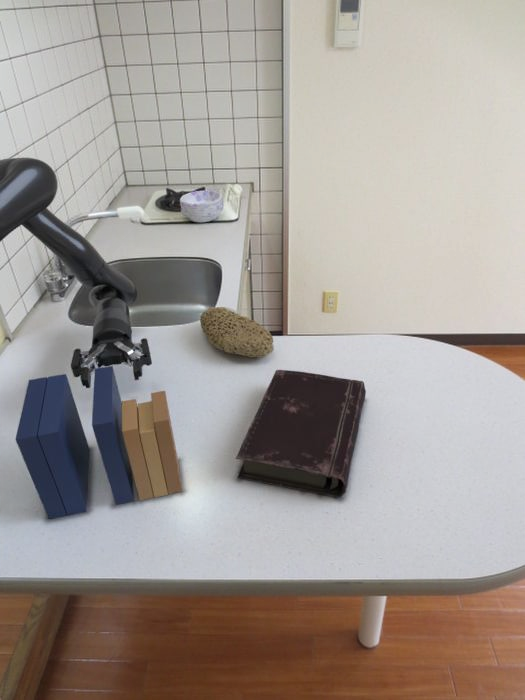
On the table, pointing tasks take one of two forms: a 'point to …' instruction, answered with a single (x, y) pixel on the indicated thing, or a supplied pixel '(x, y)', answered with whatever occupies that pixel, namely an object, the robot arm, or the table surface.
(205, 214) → the paper bowls
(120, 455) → the navy book
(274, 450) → the diary
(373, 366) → the table surface
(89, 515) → the table surface
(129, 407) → the tan books
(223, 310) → the sponge
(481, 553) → the table surface
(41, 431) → the navy book pair
